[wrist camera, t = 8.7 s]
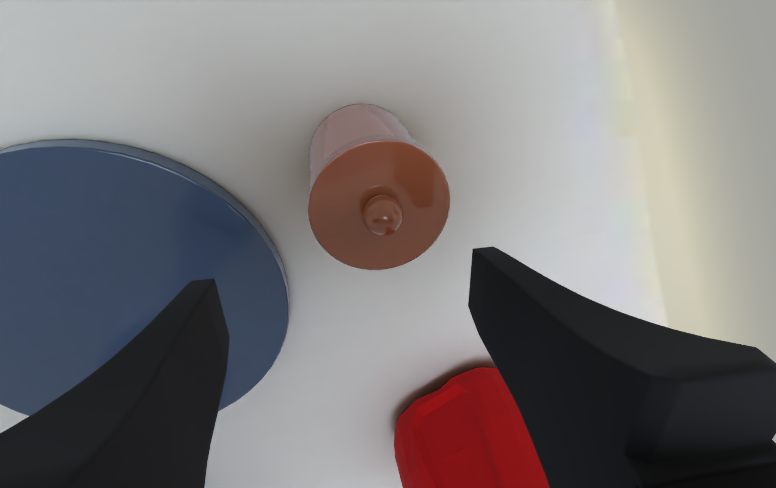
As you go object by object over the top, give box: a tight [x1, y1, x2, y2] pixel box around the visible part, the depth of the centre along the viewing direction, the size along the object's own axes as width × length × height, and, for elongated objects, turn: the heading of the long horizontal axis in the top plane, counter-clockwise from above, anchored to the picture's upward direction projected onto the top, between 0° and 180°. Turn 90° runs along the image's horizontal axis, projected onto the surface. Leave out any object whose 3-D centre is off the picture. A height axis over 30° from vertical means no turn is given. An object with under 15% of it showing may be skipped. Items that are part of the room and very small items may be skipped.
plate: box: [0, 139, 289, 416], centre depth 22 cm, size 16×16×1 cm
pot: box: [308, 104, 450, 270], centre depth 18 cm, size 5×5×7 cm
